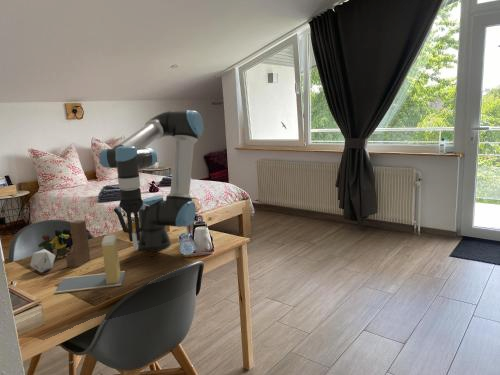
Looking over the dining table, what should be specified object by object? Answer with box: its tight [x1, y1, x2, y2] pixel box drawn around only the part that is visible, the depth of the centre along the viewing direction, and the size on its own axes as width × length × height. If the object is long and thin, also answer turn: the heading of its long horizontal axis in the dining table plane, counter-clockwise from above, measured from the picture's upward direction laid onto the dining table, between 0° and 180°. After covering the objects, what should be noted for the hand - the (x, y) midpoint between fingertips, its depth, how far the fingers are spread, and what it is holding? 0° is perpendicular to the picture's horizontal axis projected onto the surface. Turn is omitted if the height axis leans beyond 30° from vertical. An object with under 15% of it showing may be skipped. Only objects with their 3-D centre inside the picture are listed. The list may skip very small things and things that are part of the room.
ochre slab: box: [101, 234, 121, 284], centre depth 149 cm, size 4×8×16 cm, turn 11°
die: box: [29, 248, 57, 274], centre depth 162 cm, size 8×9×10 cm
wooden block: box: [65, 219, 91, 268], centre depth 167 cm, size 9×4×18 cm, turn 160°
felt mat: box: [53, 270, 126, 295], centre depth 149 cm, size 23×13×1 cm, turn 101°
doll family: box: [37, 228, 91, 259], centre depth 180 cm, size 23×9×13 cm, turn 157°
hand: (135, 248), depth 150 cm, fingers closed
